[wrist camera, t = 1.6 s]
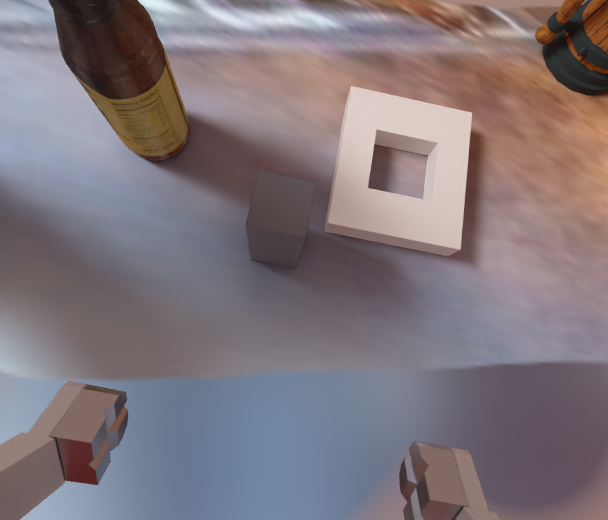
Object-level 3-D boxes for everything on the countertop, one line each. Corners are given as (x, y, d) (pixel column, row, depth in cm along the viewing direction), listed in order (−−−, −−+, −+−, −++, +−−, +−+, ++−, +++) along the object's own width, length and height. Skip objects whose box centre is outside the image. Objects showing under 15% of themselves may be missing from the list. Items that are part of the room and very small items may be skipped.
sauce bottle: (128, 102, 38) (-11, -155, 19) (195, 109, 39) (126, -136, 19) (118, 165, 36) (-45, -46, 17) (188, 171, 37) (105, -28, 18)
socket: (323, 231, 37) (327, 222, 34) (346, 102, 40) (351, 86, 38) (448, 256, 37) (460, 249, 35) (459, 127, 41) (472, 112, 38)
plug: (251, 260, 36) (245, 225, 26) (260, 218, 37) (258, 170, 27) (294, 268, 36) (305, 236, 26) (302, 227, 37) (316, 181, 27)
